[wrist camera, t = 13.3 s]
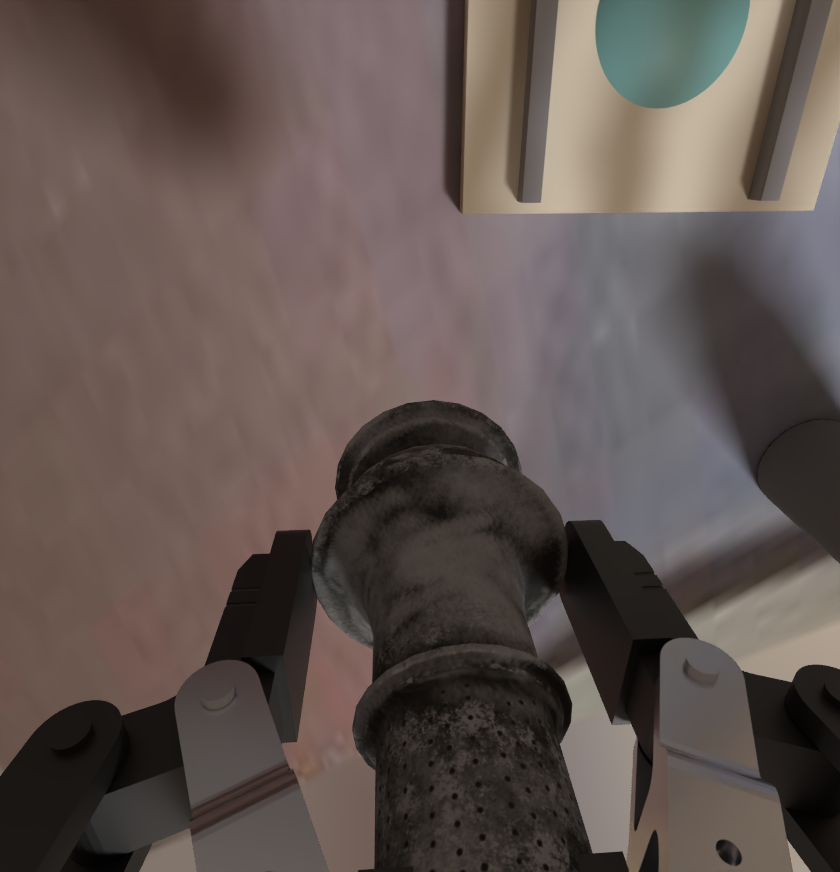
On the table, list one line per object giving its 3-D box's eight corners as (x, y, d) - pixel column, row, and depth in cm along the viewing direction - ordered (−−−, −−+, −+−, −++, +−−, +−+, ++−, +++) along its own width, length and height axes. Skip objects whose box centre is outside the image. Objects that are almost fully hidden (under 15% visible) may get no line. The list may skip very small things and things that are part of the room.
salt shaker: (282, 451, 15) (22, 1218, 4) (478, 350, 14) (805, 1008, 3) (389, 593, 17) (400, 1297, 7) (561, 516, 16) (899, 1195, 6)
